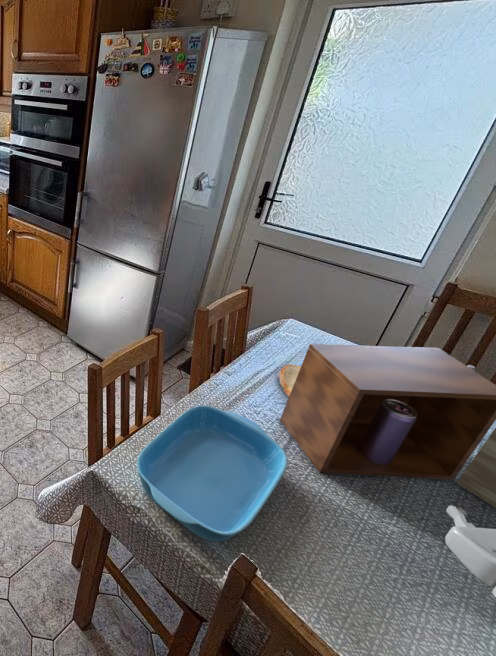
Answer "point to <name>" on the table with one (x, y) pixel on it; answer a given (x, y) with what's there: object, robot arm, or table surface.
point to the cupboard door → (482, 472)
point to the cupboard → (369, 392)
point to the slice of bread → (288, 377)
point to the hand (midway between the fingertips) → (480, 509)
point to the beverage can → (387, 431)
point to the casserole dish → (212, 471)
